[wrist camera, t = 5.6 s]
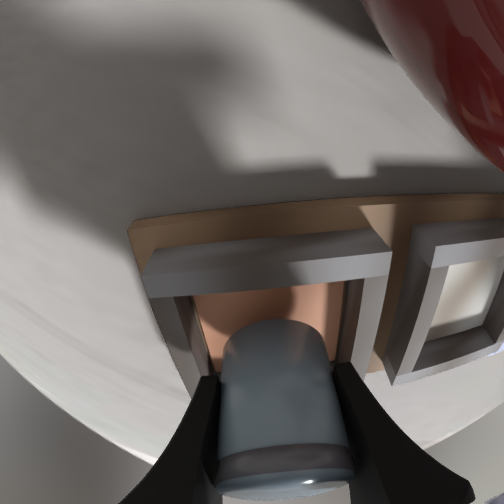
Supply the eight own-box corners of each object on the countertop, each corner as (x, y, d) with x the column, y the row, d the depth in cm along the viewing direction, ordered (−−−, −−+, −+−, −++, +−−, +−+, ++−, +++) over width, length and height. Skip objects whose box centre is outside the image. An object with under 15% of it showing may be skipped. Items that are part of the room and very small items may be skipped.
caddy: (527, 194, 11) (559, 214, 9) (483, 329, 17) (501, 355, 14) (134, 220, 12) (108, 254, 10) (190, 378, 18) (184, 417, 15)
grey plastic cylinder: (330, 311, 11) (371, 459, 6) (322, 377, 13) (344, 491, 8) (212, 323, 11) (197, 476, 6) (230, 386, 13) (227, 502, 8)
